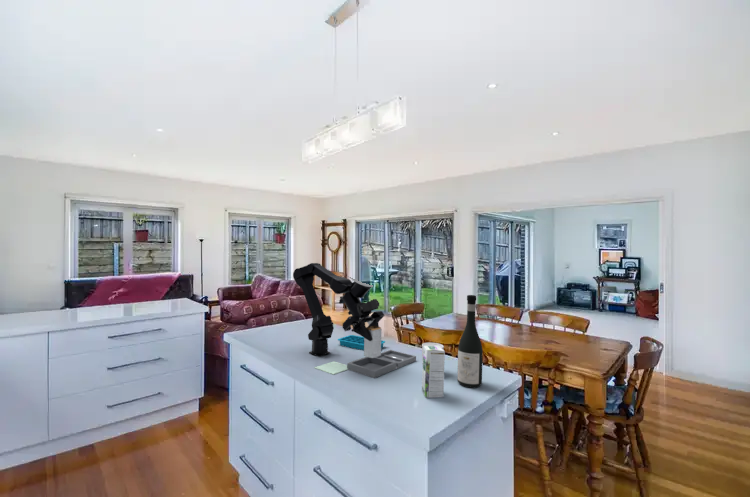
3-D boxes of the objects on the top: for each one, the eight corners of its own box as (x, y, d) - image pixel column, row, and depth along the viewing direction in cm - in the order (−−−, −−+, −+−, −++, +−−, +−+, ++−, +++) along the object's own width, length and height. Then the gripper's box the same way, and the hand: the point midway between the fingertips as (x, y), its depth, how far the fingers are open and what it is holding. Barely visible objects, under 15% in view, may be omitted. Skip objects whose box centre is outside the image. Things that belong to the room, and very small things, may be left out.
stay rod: (383, 357, 143) (383, 354, 143) (385, 356, 144) (385, 354, 144) (403, 362, 137) (403, 359, 137) (404, 361, 138) (404, 359, 138)
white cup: (444, 370, 131) (445, 344, 131) (441, 377, 123) (442, 349, 124) (423, 367, 133) (424, 341, 134) (419, 374, 126) (420, 346, 126)
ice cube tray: (372, 353, 151) (372, 346, 151) (336, 345, 162) (336, 339, 162) (386, 347, 161) (386, 341, 161) (351, 340, 172) (351, 334, 172)
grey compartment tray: (347, 369, 129) (347, 362, 129) (390, 354, 150) (390, 348, 150) (374, 378, 121) (374, 371, 121) (416, 361, 141) (416, 354, 141)
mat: (314, 368, 129) (314, 367, 129) (334, 362, 137) (334, 361, 137) (333, 375, 123) (333, 373, 123) (352, 368, 131) (352, 367, 131)
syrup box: (421, 390, 112) (422, 345, 112) (439, 390, 112) (440, 345, 112) (425, 398, 106) (426, 350, 106) (444, 397, 106) (445, 350, 106)
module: (363, 355, 129) (364, 327, 129) (372, 353, 133) (373, 325, 133) (372, 358, 127) (373, 329, 127) (380, 355, 130) (381, 327, 131)
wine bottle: (477, 390, 113) (480, 297, 113) (454, 385, 117) (456, 295, 117) (484, 383, 119) (486, 295, 120) (461, 378, 124) (463, 293, 124)
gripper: (349, 294, 125) (371, 330, 118) (381, 290, 140) (403, 322, 133) (333, 313, 130) (354, 348, 123) (365, 307, 145) (386, 339, 138)
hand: (375, 339), depth 129 cm, fingers closed on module, 5 cm apart
